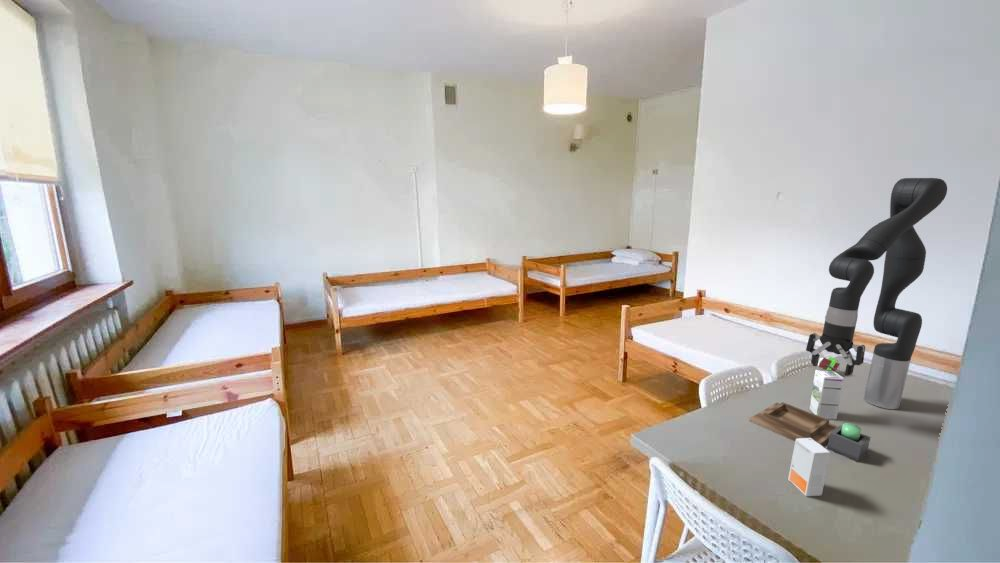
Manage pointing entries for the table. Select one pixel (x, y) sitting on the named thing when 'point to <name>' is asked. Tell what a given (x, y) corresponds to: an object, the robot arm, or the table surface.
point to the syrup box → (826, 394)
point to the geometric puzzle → (828, 364)
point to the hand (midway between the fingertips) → (830, 370)
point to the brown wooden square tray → (794, 423)
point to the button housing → (848, 445)
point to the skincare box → (809, 466)
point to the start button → (851, 431)
